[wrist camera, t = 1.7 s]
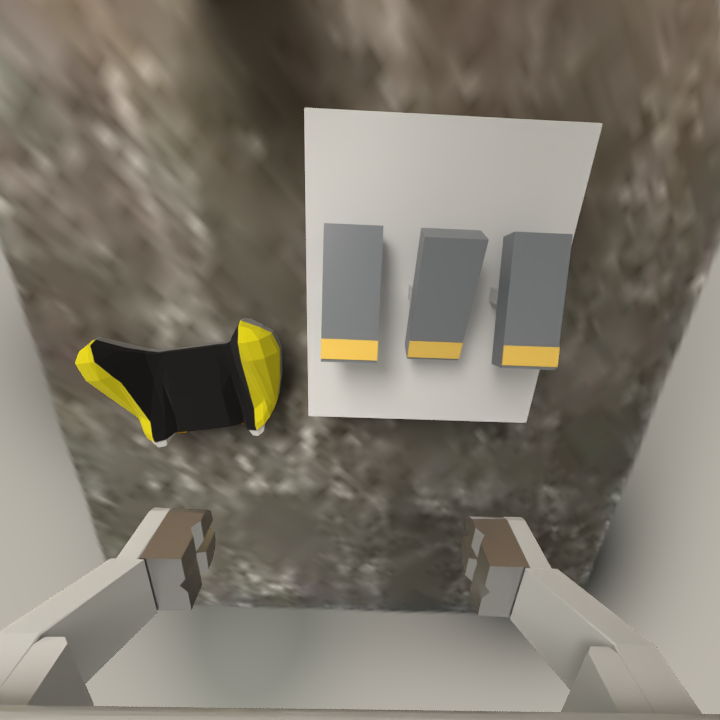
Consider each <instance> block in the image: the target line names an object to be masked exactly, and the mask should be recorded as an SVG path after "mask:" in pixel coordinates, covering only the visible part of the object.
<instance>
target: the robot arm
mask: <svg viewBox="0 0 720 720" xmlns="http://www.w3.org/2000/svg"><path fill="white" fill-rule="evenodd" d="M212 521H213V519H212V513H211V511H210V510H202V509H183V508H157V507H155V508H153V509H152V510H150V511H149V512H148V514H147V515H146V517H145V518H144V520H143V521H142V522H141V524H140V525H139V527H138V528H137V530H136V531H135V532H134V534H133V535H132V537H131V538H130V540H129V541H128V542H127V544H126V545H125V547H124V548H123V550H122V551H121V552H120V554H119V555H118V557H117V558H116V559H109V560H108V561H106V562H105V563H103V564H101V565H100V566H98V567H97V568H95V569H94V570H92V571H91V572H89V573H88V574H86V575H85V576H83V577H82V578H80V579H79V580H77V581H76V582H74V583H72V584H71V585H69V586H68V587H66V588H65V589H63V590H62V591H61V592H59V593H57V594H56V595H54V596H53V597H51V598H50V599H48V600H47V601H45V602H44V603H42V604H40V605H39V606H37V607H36V608H35V609H33V610H31V611H30V612H28V613H27V614H25V615H24V616H22V617H21V618H19V619H18V620H16V621H14V622H13V623H11V624H10V625H8V626H7V627H5V628H4V629H2V630H1V631H0V720H720V714H702V713H701V711H700V710H699V709H698V707H697V706H696V704H695V703H694V701H693V700H692V698H691V697H690V695H689V694H688V692H687V691H686V690H685V688H684V687H683V685H682V684H681V682H680V681H679V679H678V678H677V677H676V675H675V673H674V672H673V671H672V669H671V668H670V666H669V665H668V663H667V662H666V660H665V659H664V658H663V656H662V655H661V653H660V652H659V650H658V649H657V647H656V646H655V645H654V644H652V643H651V642H650V641H648V640H647V639H646V638H645V637H643V636H642V635H641V634H640V633H638V632H637V631H636V630H634V629H633V628H632V627H631V626H629V625H628V624H627V623H626V622H624V621H623V620H622V619H620V618H619V617H618V616H617V615H615V614H614V613H613V612H612V611H610V610H609V609H608V608H606V607H605V606H604V605H603V604H601V603H600V602H599V601H598V600H596V599H595V598H594V597H592V596H591V595H590V594H589V593H587V592H586V591H585V590H584V589H582V588H581V587H580V586H578V585H577V584H576V583H575V582H573V581H572V580H571V579H569V578H568V577H567V576H566V575H564V574H563V573H562V572H561V571H559V570H558V569H552V568H551V566H550V565H549V563H548V561H547V559H546V557H545V556H544V554H543V552H542V550H541V548H540V547H539V545H538V543H537V541H536V539H535V538H534V536H533V534H532V532H531V530H530V529H529V527H528V525H527V523H526V521H525V520H524V519H523V518H522V517H481V516H468V518H467V519H466V523H465V529H466V532H467V535H466V536H464V537H463V538H462V544H461V559H462V565H463V569H464V572H465V575H466V576H467V577H468V578H469V579H470V580H471V581H472V583H471V588H470V593H471V596H472V599H473V602H474V606H475V609H476V612H477V615H478V616H493V617H510V620H511V621H512V622H513V623H514V625H515V626H516V627H517V628H518V629H519V630H520V632H521V633H522V634H523V635H524V636H525V637H526V639H527V640H528V641H529V642H530V643H531V644H532V646H533V647H534V648H535V649H536V650H537V652H538V653H539V654H540V655H541V656H542V657H543V659H544V660H545V661H546V662H547V663H548V664H549V666H550V667H551V668H552V669H553V670H554V671H555V673H556V674H557V675H558V676H559V677H560V678H561V680H562V681H563V682H564V683H565V684H566V686H567V687H568V688H569V689H570V690H571V691H570V693H569V695H568V698H567V700H566V702H565V704H564V706H563V709H562V711H561V712H496V711H494V712H492V711H423V710H422V711H421V710H420V711H419V710H353V709H352V710H350V709H347V710H346V709H271V708H267V709H266V708H193V707H118V706H116V707H115V706H94V705H93V701H92V699H91V696H90V694H89V692H88V689H87V687H86V685H85V683H87V682H88V681H89V680H90V679H91V678H92V677H93V676H94V675H95V673H97V672H98V671H99V670H100V669H101V668H102V667H103V666H104V664H106V663H107V662H108V661H109V660H110V659H111V658H112V657H113V656H114V655H115V654H116V653H117V652H118V651H119V650H120V649H121V648H122V647H123V646H124V645H125V644H126V643H127V642H128V641H129V640H130V639H131V638H132V637H133V636H134V635H135V634H136V633H137V632H138V631H139V630H140V629H141V628H142V627H143V626H144V625H145V624H146V623H147V622H148V621H149V620H150V619H151V618H152V617H153V616H154V615H155V614H156V613H157V610H192V608H193V605H194V603H195V600H196V598H197V596H198V593H199V591H200V589H201V586H202V582H201V575H202V574H203V573H205V572H206V571H207V570H208V569H209V567H210V564H211V562H212V559H213V555H214V550H215V532H214V531H213V530H212V529H211V528H210V525H211V523H212Z"/></svg>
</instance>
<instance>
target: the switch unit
mask: <svg viewBox="0 0 720 720" xmlns="http://www.w3.org/2000/svg"><path fill="white" fill-rule="evenodd" d="M602 124H603V123H589V122H570V121H551V120H532V119H513V118H494V117H475V116H456V115H437V114H418V113H399V112H379V111H360V110H341V109H322V108H304V133H305V202H306V271H307V340H308V410H309V416H327V417H358V418H390V419H421V420H453V421H484V422H516V423H526V421H527V417H528V413H529V409H530V406H531V402H532V398H533V394H534V390H535V386H536V382H537V378H538V374H539V370H540V369H512V368H500V367H498V366H495V365H493V364H491V363H492V352H493V341H494V331H495V320H496V310H497V299H498V289H499V278H500V268H501V257H502V246H503V237H504V236H506V235H508V234H511V233H513V232H535V233H558V234H573V237H572V241H573V238H574V234H575V230H576V226H577V222H578V218H579V214H580V210H581V206H582V202H583V199H584V195H585V191H586V187H587V183H588V179H589V175H590V171H591V167H592V163H593V159H594V156H595V152H596V148H597V144H598V140H599V136H600V132H601V128H602ZM324 223H334V224H357V225H379V226H383V245H382V267H381V288H380V310H379V331H378V355H377V364H372V363H343V362H321V326H322V282H323V239H324ZM421 228H440V229H462V230H481V231H482V232H483V233H484V235H485V236H486V237H487V238H488V239H489V241H488V245H487V249H486V253H485V257H484V261H483V265H482V268H481V272H480V276H479V280H478V284H477V288H476V292H475V296H474V300H473V304H472V308H471V312H470V315H469V319H468V323H467V327H466V331H465V335H464V339H463V345H462V349H461V353H460V357H459V359H458V360H431V359H407V357H406V351H405V338H406V331H407V324H408V317H409V310H410V302H411V295H412V288H413V281H414V274H415V267H416V260H417V253H418V246H419V239H420V232H421Z"/></svg>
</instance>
